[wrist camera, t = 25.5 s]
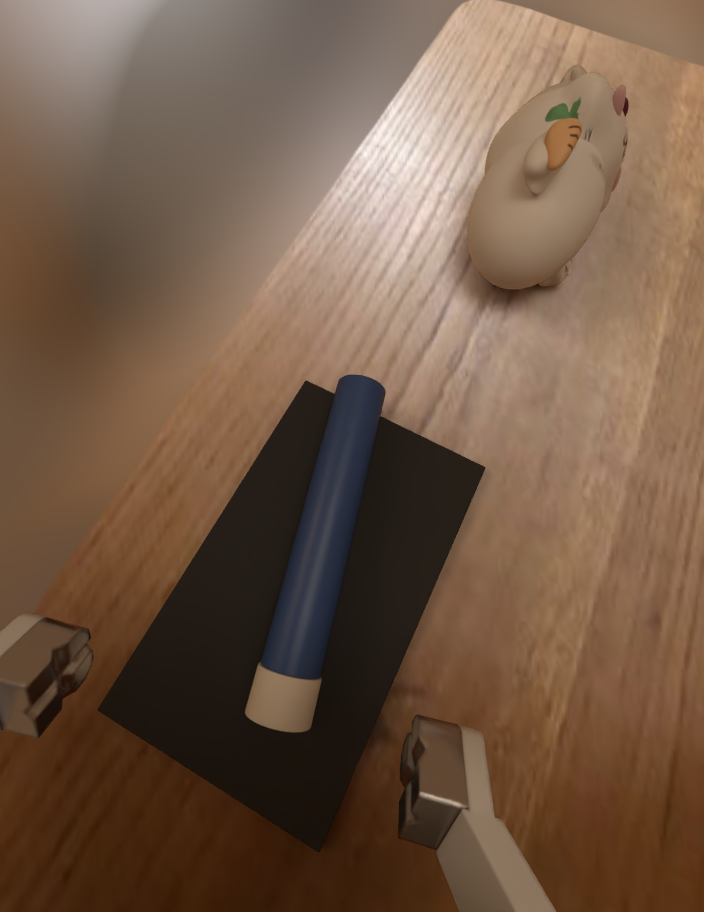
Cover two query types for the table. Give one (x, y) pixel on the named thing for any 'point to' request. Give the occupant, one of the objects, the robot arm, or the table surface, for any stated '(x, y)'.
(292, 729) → the marker
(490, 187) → the cat figurine
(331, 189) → the table surface
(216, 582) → the mat
